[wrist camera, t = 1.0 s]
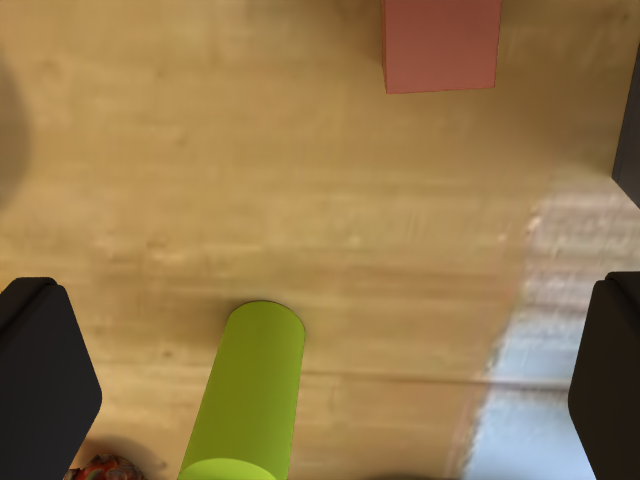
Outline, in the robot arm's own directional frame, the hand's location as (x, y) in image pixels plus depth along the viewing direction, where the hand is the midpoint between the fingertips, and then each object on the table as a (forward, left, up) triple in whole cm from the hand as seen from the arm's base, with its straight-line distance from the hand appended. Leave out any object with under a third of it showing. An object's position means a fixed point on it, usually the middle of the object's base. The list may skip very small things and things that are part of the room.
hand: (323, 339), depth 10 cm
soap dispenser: (+20, -8, -24) cm, 32 cm away
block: (-1, +4, -23) cm, 24 cm away
